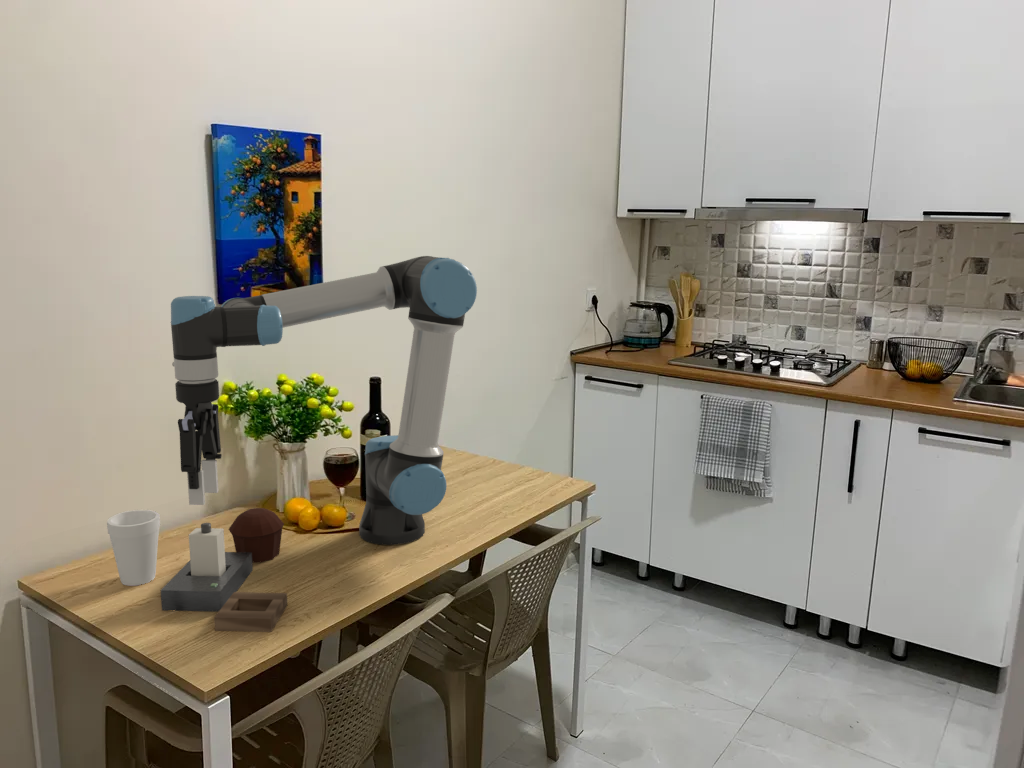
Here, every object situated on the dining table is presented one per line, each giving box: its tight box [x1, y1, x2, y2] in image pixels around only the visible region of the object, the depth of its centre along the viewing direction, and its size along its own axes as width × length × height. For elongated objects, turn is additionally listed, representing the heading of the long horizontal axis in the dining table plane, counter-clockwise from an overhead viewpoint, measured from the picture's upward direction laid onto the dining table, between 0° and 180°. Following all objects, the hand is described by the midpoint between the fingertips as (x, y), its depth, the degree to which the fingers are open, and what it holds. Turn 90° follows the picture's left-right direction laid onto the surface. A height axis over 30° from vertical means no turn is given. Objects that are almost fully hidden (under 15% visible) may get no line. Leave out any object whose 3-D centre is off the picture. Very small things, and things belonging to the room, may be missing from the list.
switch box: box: [160, 551, 254, 613], centre depth 159 cm, size 18×11×4 cm, turn 179°
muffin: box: [228, 507, 285, 564], centre depth 175 cm, size 12×11×10 cm
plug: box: [188, 522, 226, 576], centre depth 158 cm, size 4×5×14 cm, turn 89°
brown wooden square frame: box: [213, 591, 288, 633], centre depth 148 cm, size 10×10×2 cm
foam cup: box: [106, 509, 161, 587], centre depth 162 cm, size 10×9×13 cm
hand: (204, 497), depth 155 cm, fingers open, 6 cm apart
